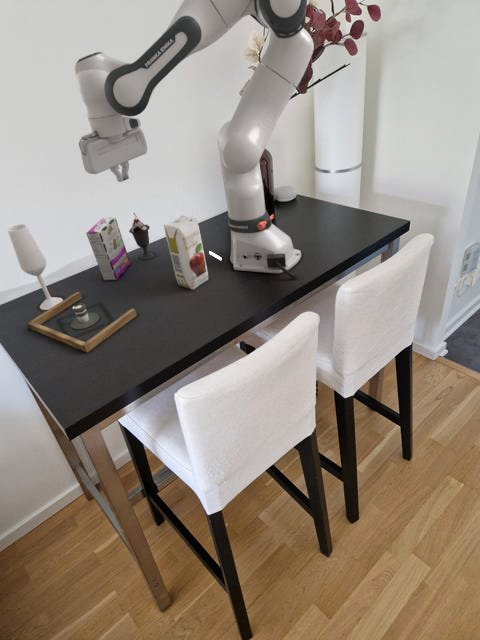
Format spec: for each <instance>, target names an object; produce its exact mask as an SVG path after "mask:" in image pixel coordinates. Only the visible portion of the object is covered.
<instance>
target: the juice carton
mask: <svg viewBox="0 0 480 640" xmlns="http://www.w3.org/2000/svg"><path fill="white" fill-rule="evenodd" d="M163 228H164V235H165V239H166V242H167V247H168V251H169V255H170V260H171V263H172V267H173V272H174V275H175V276H174V277H175V279H176V282H177V284H178V286H180V287H183V288H185V289H188V290H195V289H197V288H198V287H199V286H201V285H203V284H204V283H206V282H207V281H208V280H209V271H208V267H207V261H206V256H205V251H204V246H203V241H202V236H201V231H200V226H199V221H198V218H195V217H190V216H185V215H180V216H179V217H176V219H174V220H173V221H170V222H168V223H165V224H163Z"/></svg>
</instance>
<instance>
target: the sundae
mask: <svg viewBox="0 0 480 640" xmlns="http://www.w3.org/2000/svg"><path fill="white" fill-rule="evenodd" d="M133 215H134V219H133V222H132V224H131V227H130V228H129V231H128V232H129V233H130V234H132V236H133V238H134V241H135V244H136V245H137V247H140V248H142V250H143V254H141V255H140V256H139V259H140V260H142V261H149V260H151V259H153V258H154V257H155V254H154V253H153V252H149V251H148V248H147V247H148V246H149V244H150V237H149V230H150V228H151V227H150V226H149V225H148V224H145V223H143V222H142V221H141V220H140V219H139V218H138V216H137V215H136V212H133Z"/></svg>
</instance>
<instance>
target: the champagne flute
mask: <svg viewBox="0 0 480 640" xmlns="http://www.w3.org/2000/svg"><path fill="white" fill-rule="evenodd" d="M7 233H8V235H9V238H10V241H11V243H12V246H13V250H14V252H15V256H16V258H17V261H18V263H19V266H20V269H21V270H22V271H23V273H26V274H28V275H31V276H34V277H36V278H37V281H38V283H39V285H40V287H41V289H42V291H43V293H44V296H45V300H44V301H43V302H42V303H41V304H40V305H39V309H40V310H43V311H47V310H49V309H50V308H52V307H54V306H55V305H57V304H59V303H60V302H62V301H63V300H64V299H63V298H62V297H56V296H51V295H50V292H49V289H48V288H47V286H46V283H45V281H44V278H43V277H42V274H43V273H44V271H45V269H46V267H47V260H46V258H45V256H44V255H43V253H42V251H41V249H40V247H39V244H37V242H36V240H35V238H34V237H33V235H32V233H31V231H30V229H29V228H28V225H27V224H25V223H22V224H16V225H12V226H11V227H8V229H7Z"/></svg>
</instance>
